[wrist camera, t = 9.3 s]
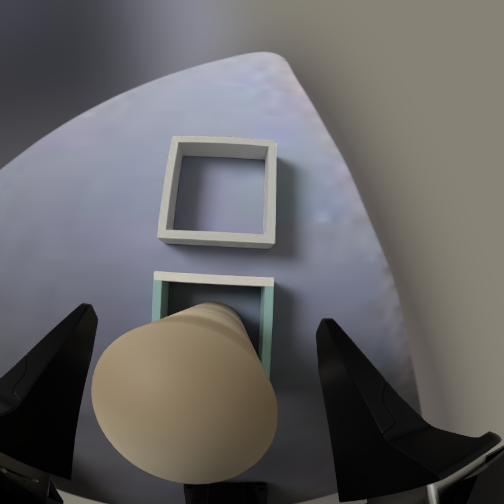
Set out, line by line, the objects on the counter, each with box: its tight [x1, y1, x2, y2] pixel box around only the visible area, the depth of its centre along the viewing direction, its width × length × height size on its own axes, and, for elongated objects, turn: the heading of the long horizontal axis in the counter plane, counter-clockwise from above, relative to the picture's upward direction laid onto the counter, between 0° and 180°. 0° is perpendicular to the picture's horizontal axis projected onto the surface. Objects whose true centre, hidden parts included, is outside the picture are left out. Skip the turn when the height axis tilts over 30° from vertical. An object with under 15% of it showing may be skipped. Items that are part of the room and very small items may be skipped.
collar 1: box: [157, 136, 276, 249], centre depth 17 cm, size 7×7×2 cm
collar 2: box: [152, 271, 274, 379], centre depth 16 cm, size 7×7×2 cm
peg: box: [91, 301, 278, 484], centre depth 11 cm, size 4×4×12 cm
